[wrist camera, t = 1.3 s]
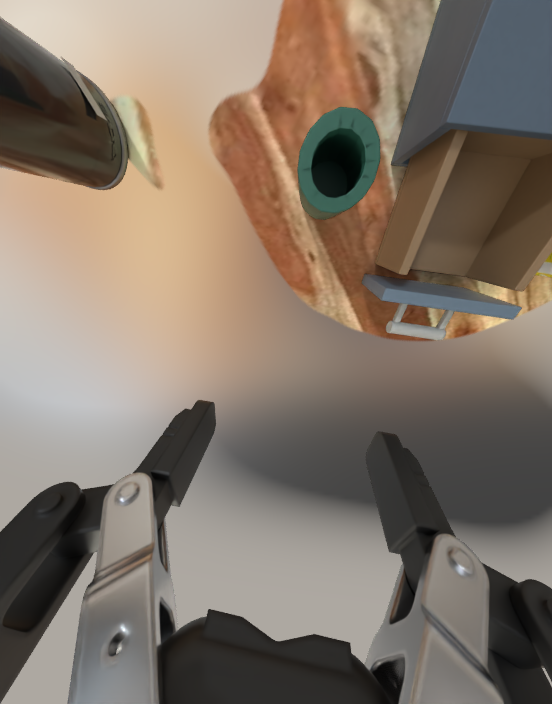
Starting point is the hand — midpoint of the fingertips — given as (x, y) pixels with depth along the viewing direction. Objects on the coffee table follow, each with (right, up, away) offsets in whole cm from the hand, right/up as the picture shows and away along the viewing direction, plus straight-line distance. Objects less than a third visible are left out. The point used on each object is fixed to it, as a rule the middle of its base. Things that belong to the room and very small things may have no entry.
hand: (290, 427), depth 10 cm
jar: (+5, +22, +13) cm, 26 cm away
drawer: (+17, +16, +14) cm, 27 cm away
